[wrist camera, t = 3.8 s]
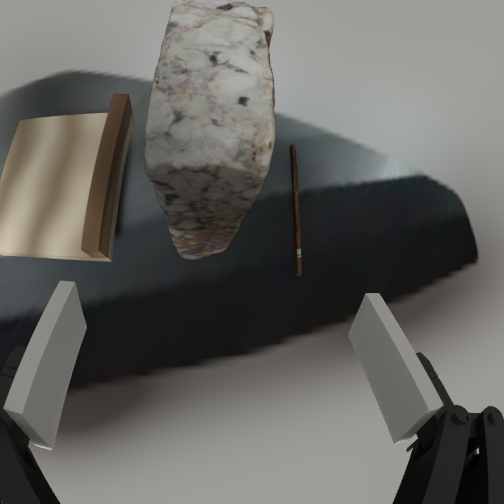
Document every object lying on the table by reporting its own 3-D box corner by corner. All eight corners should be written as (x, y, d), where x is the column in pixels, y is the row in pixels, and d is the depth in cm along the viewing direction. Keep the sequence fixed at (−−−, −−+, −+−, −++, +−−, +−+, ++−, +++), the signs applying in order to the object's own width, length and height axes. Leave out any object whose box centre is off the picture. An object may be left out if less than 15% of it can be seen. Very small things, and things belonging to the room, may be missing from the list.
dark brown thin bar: (288, 147, 36) (291, 143, 35) (292, 148, 36) (295, 143, 35) (294, 275, 33) (297, 274, 32) (298, 275, 33) (302, 274, 32)
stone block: (169, 146, 33) (161, -9, 14) (231, 144, 34) (272, -6, 15) (171, 264, 30) (139, 167, 11) (242, 260, 32) (315, 163, 13)
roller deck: (6, 260, 27) (-32, 243, 20) (34, 139, 30) (10, 105, 23) (119, 267, 29) (98, 250, 22) (137, 135, 33) (128, 93, 26)
